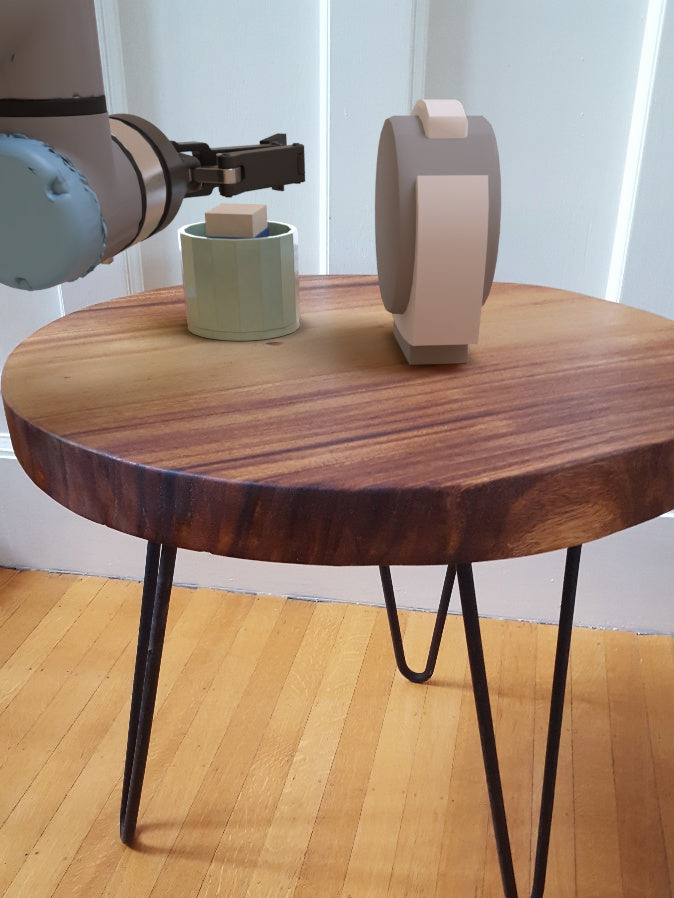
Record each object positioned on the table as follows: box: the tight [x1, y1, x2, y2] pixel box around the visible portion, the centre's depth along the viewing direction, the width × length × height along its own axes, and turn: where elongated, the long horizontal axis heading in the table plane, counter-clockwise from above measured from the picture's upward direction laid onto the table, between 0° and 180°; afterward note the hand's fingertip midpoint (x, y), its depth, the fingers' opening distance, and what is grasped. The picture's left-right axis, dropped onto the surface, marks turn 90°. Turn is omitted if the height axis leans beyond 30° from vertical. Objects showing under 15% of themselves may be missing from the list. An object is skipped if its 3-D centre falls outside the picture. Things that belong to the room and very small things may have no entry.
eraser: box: [204, 202, 269, 239], centre depth 93 cm, size 5×6×10 cm
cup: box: [177, 220, 301, 342], centre depth 94 cm, size 11×11×9 cm
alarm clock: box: [374, 98, 502, 366], centre depth 85 cm, size 18×8×20 cm, turn 7°
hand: (202, 150), depth 79 cm, fingers open, 13 cm apart
